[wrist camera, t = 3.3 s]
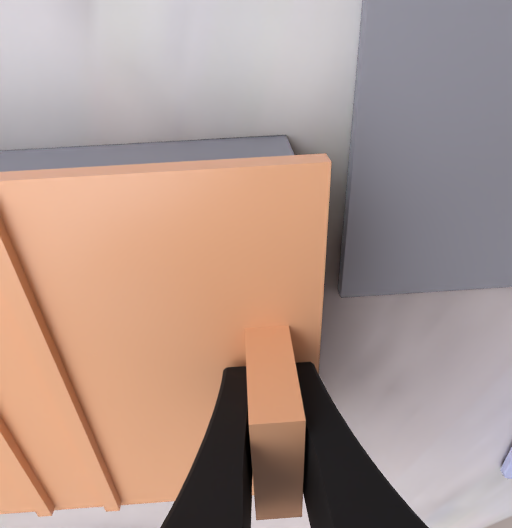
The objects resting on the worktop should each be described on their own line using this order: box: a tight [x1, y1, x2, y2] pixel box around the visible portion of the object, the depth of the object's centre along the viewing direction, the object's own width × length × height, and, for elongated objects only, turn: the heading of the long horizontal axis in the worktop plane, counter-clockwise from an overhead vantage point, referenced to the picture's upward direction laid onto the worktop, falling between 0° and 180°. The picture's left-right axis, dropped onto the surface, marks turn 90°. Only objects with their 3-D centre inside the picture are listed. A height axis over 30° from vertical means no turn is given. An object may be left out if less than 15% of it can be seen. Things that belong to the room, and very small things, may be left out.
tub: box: [0, 135, 294, 172], centre depth 14 cm, size 12×12×4 cm
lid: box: [0, 153, 331, 520], centre depth 11 cm, size 13×13×4 cm
